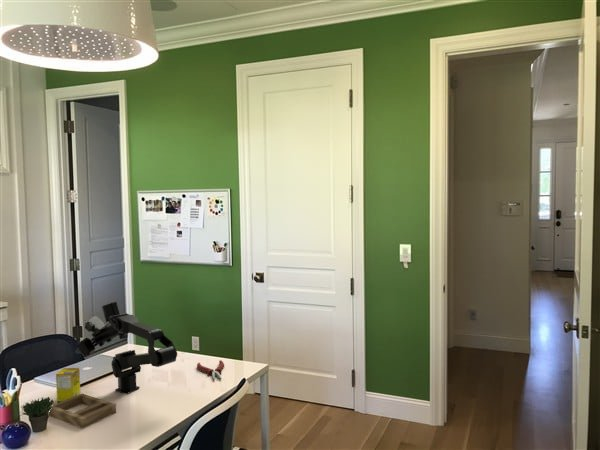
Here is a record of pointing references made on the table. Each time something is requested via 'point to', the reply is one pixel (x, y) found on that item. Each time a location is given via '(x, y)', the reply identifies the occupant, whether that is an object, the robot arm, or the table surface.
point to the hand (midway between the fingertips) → (83, 346)
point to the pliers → (211, 371)
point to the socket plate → (82, 410)
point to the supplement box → (67, 383)
